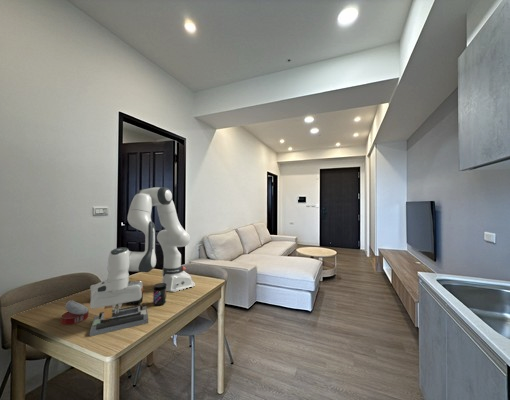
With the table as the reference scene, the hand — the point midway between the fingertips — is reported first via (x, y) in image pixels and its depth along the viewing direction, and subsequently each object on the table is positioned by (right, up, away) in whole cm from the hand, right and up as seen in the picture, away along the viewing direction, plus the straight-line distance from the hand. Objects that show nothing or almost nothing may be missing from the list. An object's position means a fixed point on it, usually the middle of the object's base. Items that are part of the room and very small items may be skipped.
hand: (116, 313), depth 99 cm
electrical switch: (-26, -5, +24) cm, 36 cm away
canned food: (-21, -5, +2) cm, 22 cm away
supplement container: (+11, -6, +20) cm, 24 cm away
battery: (-3, -6, +20) cm, 21 cm away
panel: (+2, -5, +1) cm, 5 cm away
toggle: (-3, -3, -2) cm, 4 cm away
